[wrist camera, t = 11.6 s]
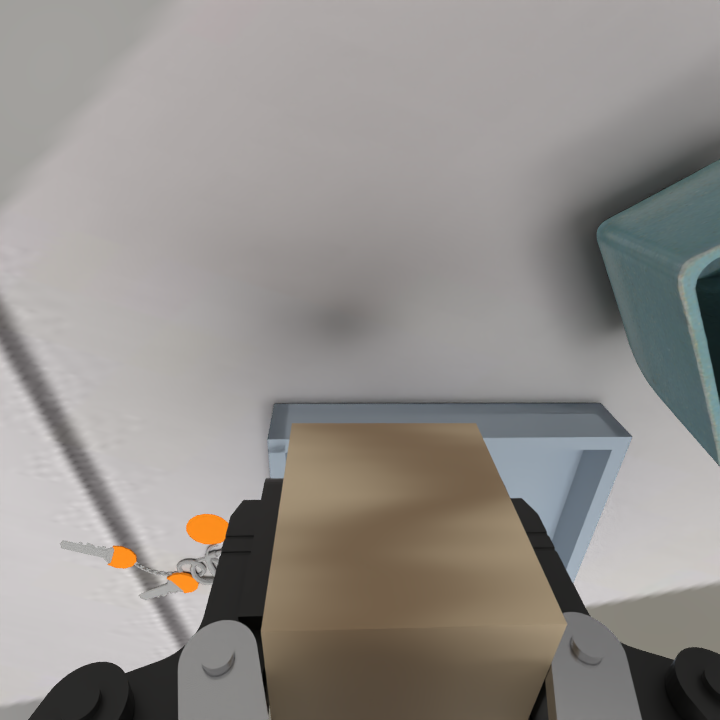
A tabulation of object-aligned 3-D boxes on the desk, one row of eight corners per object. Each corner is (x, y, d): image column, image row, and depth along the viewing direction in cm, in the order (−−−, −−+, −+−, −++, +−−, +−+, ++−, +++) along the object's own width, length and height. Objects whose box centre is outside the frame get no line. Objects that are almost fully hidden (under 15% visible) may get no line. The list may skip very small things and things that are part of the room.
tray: (600, 403, 25) (632, 436, 22) (543, 568, 32) (562, 609, 29) (274, 403, 24) (267, 439, 21) (285, 576, 31) (281, 619, 28)
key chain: (257, 497, 28) (255, 508, 27) (286, 574, 31) (285, 585, 30) (55, 531, 28) (48, 543, 27) (107, 603, 31) (102, 615, 31)
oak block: (476, 423, 11) (567, 623, 7) (452, 548, 13) (510, 763, 9) (291, 422, 11) (261, 631, 6) (298, 550, 13) (277, 773, 9)
